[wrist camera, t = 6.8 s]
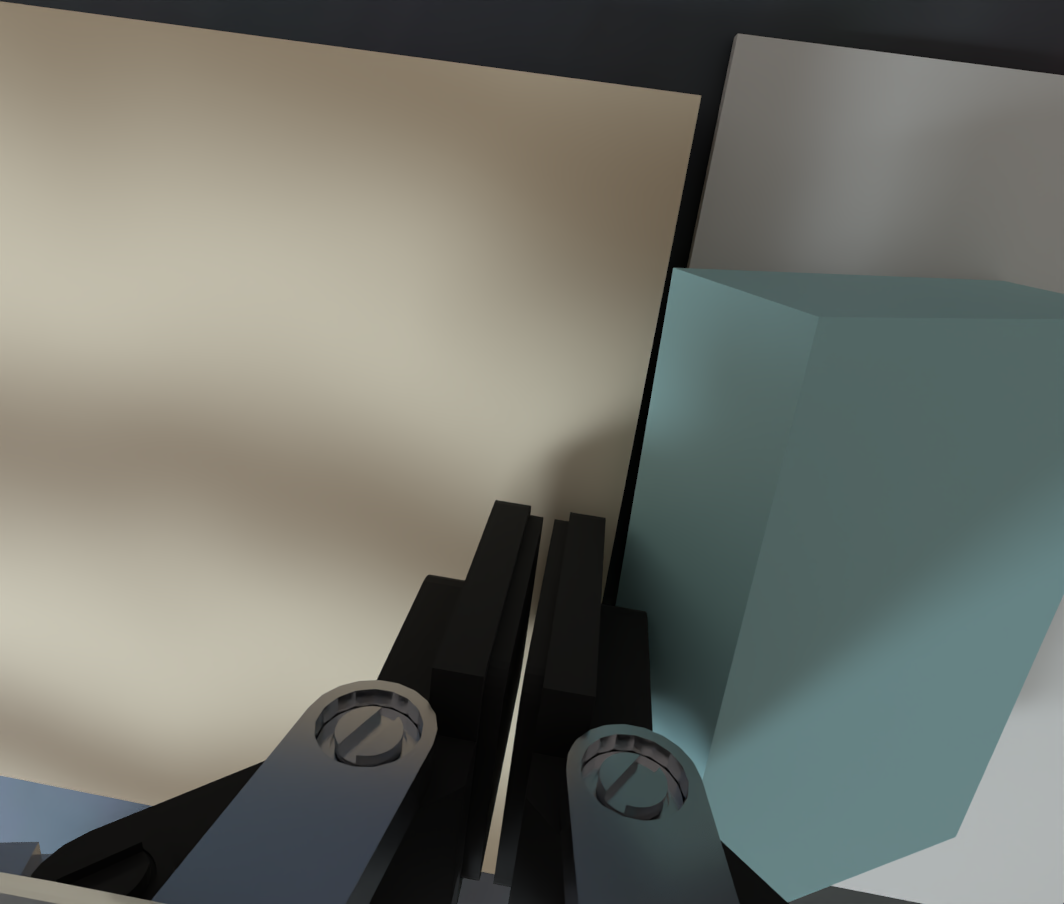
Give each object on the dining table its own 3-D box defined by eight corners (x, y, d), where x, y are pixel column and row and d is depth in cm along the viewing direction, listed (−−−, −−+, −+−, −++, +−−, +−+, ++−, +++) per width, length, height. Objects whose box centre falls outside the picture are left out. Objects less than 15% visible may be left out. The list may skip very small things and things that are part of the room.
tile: (847, 733, 15) (955, 836, 13) (580, 810, 12) (659, 952, 10) (1002, 280, 11) (1185, 320, 9) (672, 267, 9) (819, 316, 7)
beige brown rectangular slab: (557, 783, 17) (546, 884, 14) (-182, 642, 18) (-302, 715, 16) (685, 106, 11) (701, 96, 9) (-386, -39, 12) (-615, -81, 10)
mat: (1039, 911, 17) (1048, 927, 16) (572, 820, 17) (571, 835, 17) (1489, 135, 10) (1521, 133, 10) (734, 37, 11) (738, 33, 11)
